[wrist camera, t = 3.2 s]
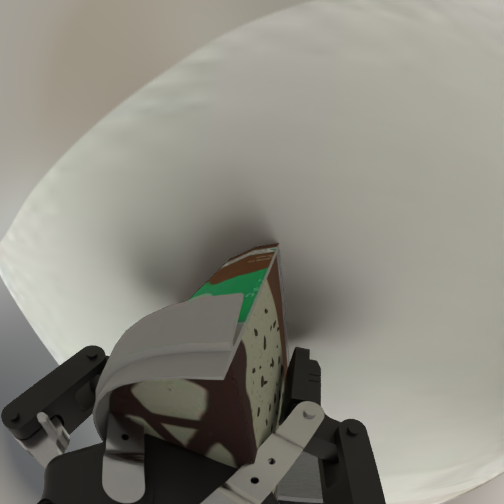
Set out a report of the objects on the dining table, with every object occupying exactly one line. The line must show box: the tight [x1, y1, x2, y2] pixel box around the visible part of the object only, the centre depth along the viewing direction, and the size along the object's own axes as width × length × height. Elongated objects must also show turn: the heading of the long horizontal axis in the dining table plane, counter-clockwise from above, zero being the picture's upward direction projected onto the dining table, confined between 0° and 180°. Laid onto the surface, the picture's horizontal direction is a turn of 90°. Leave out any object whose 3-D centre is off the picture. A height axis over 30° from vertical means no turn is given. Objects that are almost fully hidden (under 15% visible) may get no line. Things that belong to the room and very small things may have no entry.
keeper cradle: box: [278, 451, 323, 504], centre depth 20 cm, size 15×18×6 cm
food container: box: [93, 243, 289, 500], centre depth 11 cm, size 12×6×10 cm, turn 8°
